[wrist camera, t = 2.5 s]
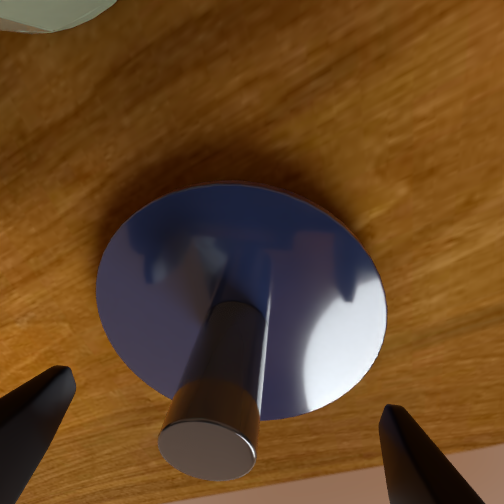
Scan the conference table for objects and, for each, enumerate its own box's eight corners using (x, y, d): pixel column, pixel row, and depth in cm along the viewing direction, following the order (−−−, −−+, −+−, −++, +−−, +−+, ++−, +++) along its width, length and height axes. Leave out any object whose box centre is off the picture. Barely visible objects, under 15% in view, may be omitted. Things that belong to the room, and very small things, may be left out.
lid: (414, 186, 9) (553, 285, 4) (350, 412, 14) (383, 581, 9) (85, 165, 10) (-106, 229, 5) (130, 385, 15) (52, 527, 10)
